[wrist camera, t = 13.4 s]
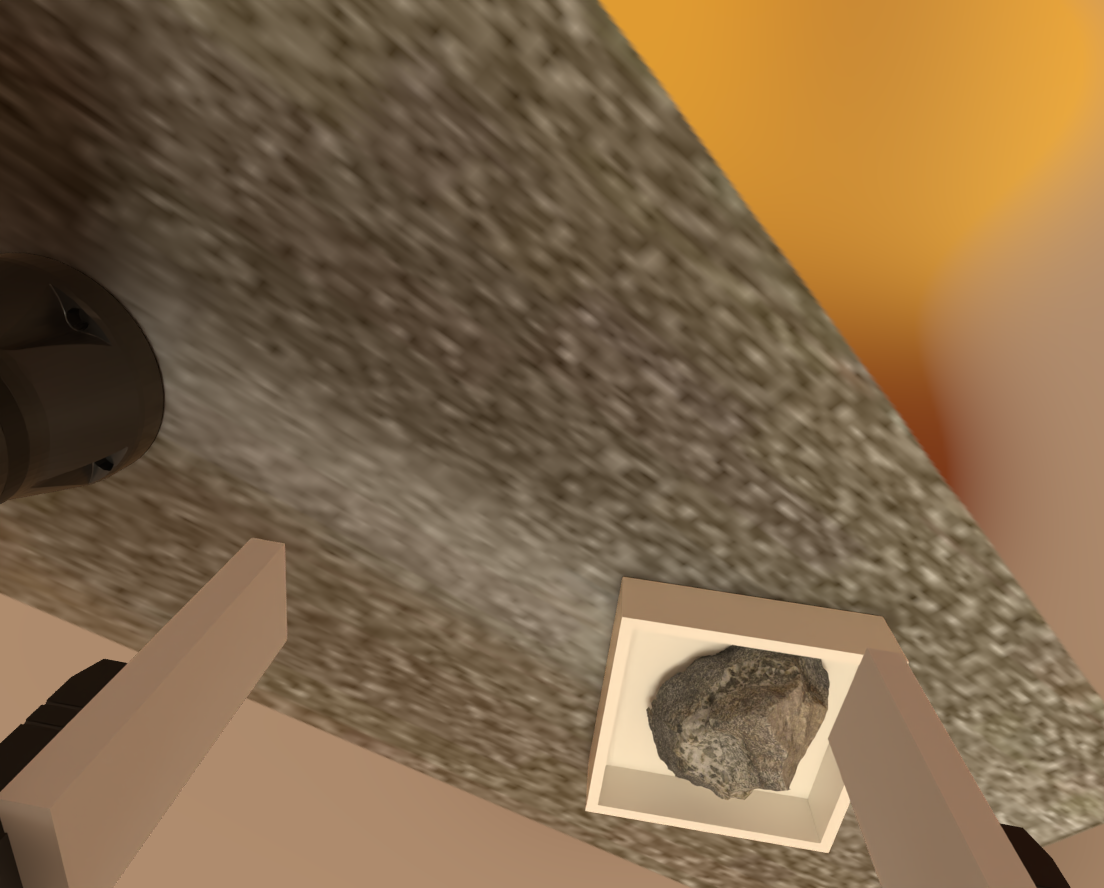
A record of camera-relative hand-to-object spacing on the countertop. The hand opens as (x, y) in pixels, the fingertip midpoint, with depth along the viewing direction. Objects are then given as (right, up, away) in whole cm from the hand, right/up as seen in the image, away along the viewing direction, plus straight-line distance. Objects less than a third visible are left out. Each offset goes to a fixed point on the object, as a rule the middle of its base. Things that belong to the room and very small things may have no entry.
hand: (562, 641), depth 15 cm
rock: (+12, -13, +32) cm, 37 cm away
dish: (+12, -14, +33) cm, 38 cm away
